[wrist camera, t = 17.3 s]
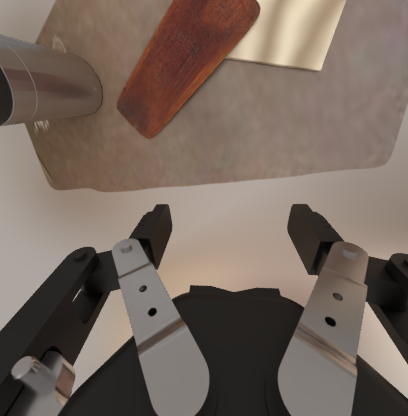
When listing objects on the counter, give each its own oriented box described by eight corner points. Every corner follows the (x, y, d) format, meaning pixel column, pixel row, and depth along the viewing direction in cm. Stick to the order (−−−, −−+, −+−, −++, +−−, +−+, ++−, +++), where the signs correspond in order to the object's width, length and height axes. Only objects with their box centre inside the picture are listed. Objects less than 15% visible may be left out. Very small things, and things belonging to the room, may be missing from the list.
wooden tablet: (219, -65, 23) (217, -77, 21) (265, 14, 26) (266, 9, 24) (111, 101, 35) (105, 101, 33) (150, 143, 37) (147, 145, 36)
